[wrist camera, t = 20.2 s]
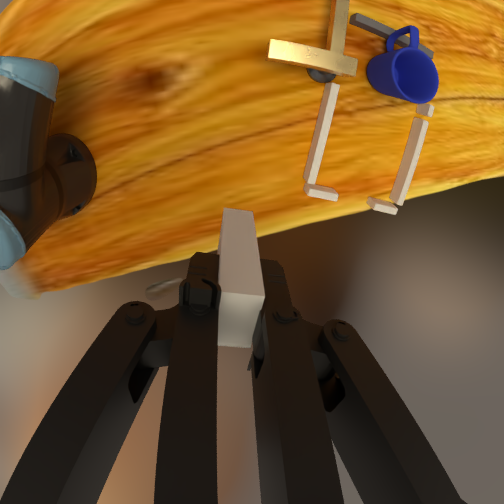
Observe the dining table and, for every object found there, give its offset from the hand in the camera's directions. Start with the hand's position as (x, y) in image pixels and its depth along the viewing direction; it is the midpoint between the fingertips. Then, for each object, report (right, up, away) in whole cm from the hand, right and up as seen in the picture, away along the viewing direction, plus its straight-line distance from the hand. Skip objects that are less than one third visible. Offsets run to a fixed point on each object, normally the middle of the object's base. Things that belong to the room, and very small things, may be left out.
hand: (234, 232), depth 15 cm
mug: (+22, +29, +18) cm, 41 cm away
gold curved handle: (+9, +34, +13) cm, 37 cm away
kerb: (+23, +34, +15) cm, 44 cm away
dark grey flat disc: (+11, +26, +19) cm, 34 cm away
